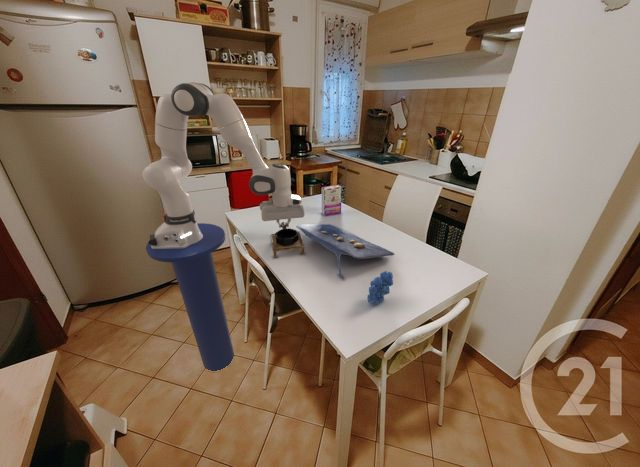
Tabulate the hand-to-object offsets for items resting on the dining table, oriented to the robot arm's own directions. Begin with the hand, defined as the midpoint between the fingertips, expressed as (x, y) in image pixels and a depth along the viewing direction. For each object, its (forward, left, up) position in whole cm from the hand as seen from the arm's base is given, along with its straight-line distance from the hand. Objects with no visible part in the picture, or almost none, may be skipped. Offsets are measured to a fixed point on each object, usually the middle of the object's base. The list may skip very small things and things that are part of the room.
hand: (283, 226), depth 127 cm
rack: (0, -9, -7) cm, 12 cm away
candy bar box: (+31, +26, -7) cm, 41 cm away
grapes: (+25, -51, -7) cm, 58 cm away
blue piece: (+23, -15, -7) cm, 29 cm away
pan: (0, -6, -2) cm, 6 cm away
